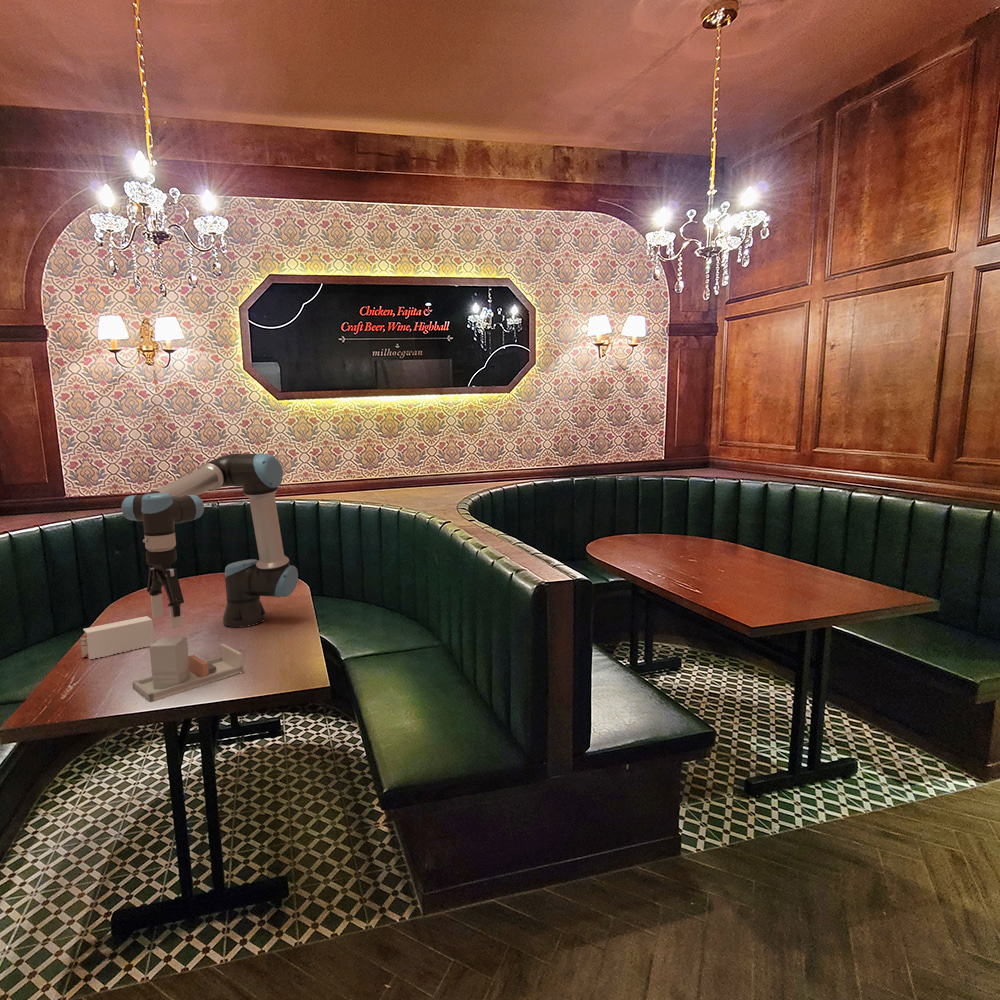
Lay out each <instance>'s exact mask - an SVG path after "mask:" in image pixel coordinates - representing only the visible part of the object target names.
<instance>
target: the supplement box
mask: <svg viewBox="0 0 1000 1000" xmlns="http://www.w3.org/2000/svg"><path fill="white" fill-rule="evenodd" d="M188 646H189V645H188V637H187V636H162V637H160V638H159V639H158V640H156V641H154V643H153V644H152V645H150V646H149V647H148V648H149V656H150V664H151V665H150V666H151V667H150V668H151V676H152V678H153V688H169V687H172V686H175V685H179V684H182V683H185V682H186V681H187V680H188V679H189V678H190V668H189V656H190V655H189V648H188Z"/></svg>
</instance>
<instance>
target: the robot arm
mask: <svg viewBox="0 0 1000 1000" xmlns="http://www.w3.org/2000/svg"><path fill="white" fill-rule="evenodd" d="M283 477H284V471H283V466H282V464H281V462H280V460H279V459H278V458H277V457H275V455H272V454H267V453H261V452H260V453H229V454H225V455H223V456H219V457H217V458H216V457H215V458H214V459H212V460H210V461H207V462H205V463H203V464H201V465H200V466H199V467H198V469H197V470H194V471H193V472H190V473H188V474H186V475H184V476H182V477H180V478H177V479H175V480H172V481H171V482H169V483H166V484H164V485H163V486H160V487H157V488H156V489H153V490H152V491H149V492H146V493H145V494H142V495H139V494H135V495H129V496H126V497H125V498H124V500H122V503H121V512H122V515H123V516H124V518H125V519H127V520H130V521H136V522H142V526H143V535H144V536H143V537H144V539H142V543H143V544H144V547H145V549H146V551H145V559H146V560H145V561H146V564H147V565H148V578H147V586H146V592H147V593H149V595H150V602H151V603H150V605H151V615H152V619H157V618H162V617H164V606H163V595H162V594H163V591H162V588H163V587H164V590H165V592H166V596H167V599H168V601H169V603H168V604H167V607H168V609H169V620H170V622H169V623H170V629H172V630H173V629H178V628H180V627H183V619H182V618H183V617H182V608H181V607H182V606H181V605H182V604H184V603H185V600H184V596H183V592H182V589H181V585H180V581H179V578H178V570H177V568H172V565H171V564H173V563H176V561H177V559H178V558H177V557H178V556H177V548H176V546H177V541H176V531H175V525H177V524H181V523H186V522H192V521H194V520H197V519H199V518H201V517H202V516H203V514H204V511H205V505H204V502H203V499H202V498H201V497H199V496H200V495H203V493H206V492H208V491H210V490H212V491H213V490H219V489H220V488H225V487H242V492H243V493H242V494H243V495H244V496H246V497H247V498H248V500H249V505H250V512H251V518H252V523H253V529H254V534H255V535H254V536H255V540H256V542H255V543H256V547H257V553H258V559H259V560H258V559H255V558H254V559H244V560H238V561H236V562H235V561H234V562H232V563H231V562H230V563H229V564H227V565H226V566H225V569H224V580H225V581H224V582H225V594H226V606H225V609H224V613H223V616H222V624H224V625H226V626H225V627H227V626H231V627H230V628H233V627H239V628H241V627H240V626H248V625H253V624H256V623H259V622H261V621H263V620H265V619H266V620H267V613H266V610H265V608H264V606H263V603H262V601H261V597H272V598H280V597H281V598H286V597H289V596H291V595H292V594H293V593H294V591H295V589H296V587H297V585H298V580H299V572H298V568H297V567H296V566H295V565H293V564H290V559H289V557H288V556H286V555H285V554H284V553H285V552H284V547H283V541H282V540H283V539H282V534H281V527H280V522H279V521H280V520H279V515H278V508H277V504H276V503H277V502H276V495H275V494H277V491H279V486H280V485H281V484H282V482H283ZM266 620H265V621H266ZM224 625H223V626H224ZM253 626H254V625H253ZM248 627H249V626H248Z"/></svg>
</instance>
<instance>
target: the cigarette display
mask: <svg viewBox="0 0 1000 1000" xmlns="http://www.w3.org/2000/svg"><path fill="white" fill-rule="evenodd" d="M82 629H83V631H84V633H85V634H86V636H84V635H83V636H81V637H80V639H79V640H80V647H81V658H82V657H89V659H94V660H96V659H95V658H98V659H101V658H100V657H103V658H106V657H105V656H107V657H111V656H114V655H113V654H116V655H118V654H117V653H120V654H123V653H122V652H124V653H127V652H126V651H129V652H131V651H130V650H133V651H136V650H135V649H137V650H140V649H139V648H141V649H144V648H143V647H146V648H149V647H148V646H150V645H152V644H153V643H155V635H154V622H153V618H150V617H149V616H148V615H145V616H141V617H136V618H135V617H134V618H130V619H125V620H120V621H116V622H109V623H105V624H101V625H97V626H91V627H87V628H82ZM110 655H111V656H110Z"/></svg>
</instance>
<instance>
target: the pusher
mask: <svg viewBox="0 0 1000 1000" xmlns="http://www.w3.org/2000/svg"><path fill="white" fill-rule="evenodd" d="M188 656H189V668H190V671H192V672H193V673H195V674H196V675H198V676H200V677H201V678H202V677H205V676H208V675H209V673H211V672H214V671H216V667H215V666H214V665H212V664H208V663H207V662H205V661H206V660H204V659H202V658H200V657H198V656H196V654H191V655H188Z"/></svg>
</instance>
